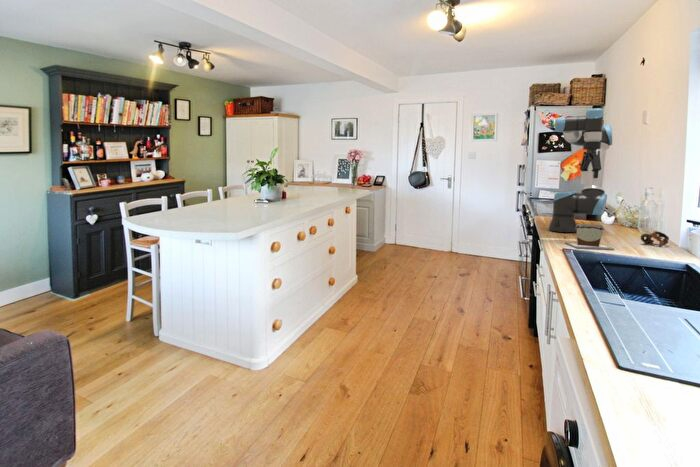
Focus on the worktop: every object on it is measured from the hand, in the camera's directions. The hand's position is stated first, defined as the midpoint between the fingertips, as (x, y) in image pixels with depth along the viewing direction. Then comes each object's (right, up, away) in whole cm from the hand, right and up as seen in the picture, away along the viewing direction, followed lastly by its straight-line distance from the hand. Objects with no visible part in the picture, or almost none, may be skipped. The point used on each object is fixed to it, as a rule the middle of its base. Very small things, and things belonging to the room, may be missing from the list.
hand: (588, 184), depth 214 cm
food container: (-3, -30, -5) cm, 31 cm away
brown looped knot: (+33, -32, +5) cm, 46 cm away
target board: (-3, -31, -5) cm, 31 cm away
